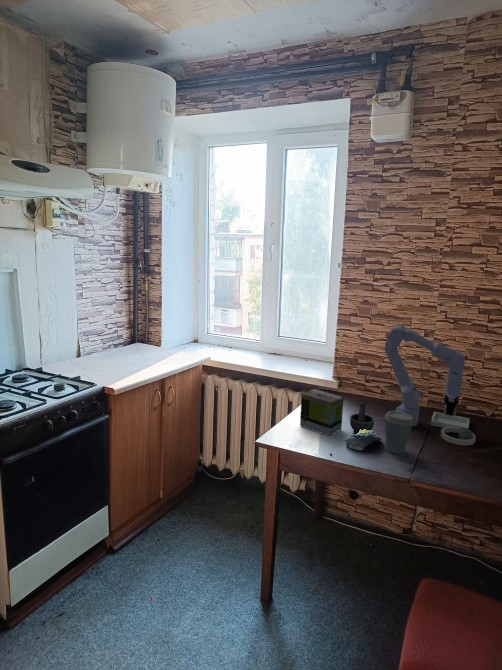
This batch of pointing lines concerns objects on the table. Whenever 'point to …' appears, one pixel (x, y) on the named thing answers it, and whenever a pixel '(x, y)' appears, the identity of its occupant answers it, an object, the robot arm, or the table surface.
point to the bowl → (454, 440)
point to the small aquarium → (321, 411)
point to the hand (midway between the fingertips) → (449, 412)
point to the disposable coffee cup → (397, 430)
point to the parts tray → (449, 421)
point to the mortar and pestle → (361, 420)
